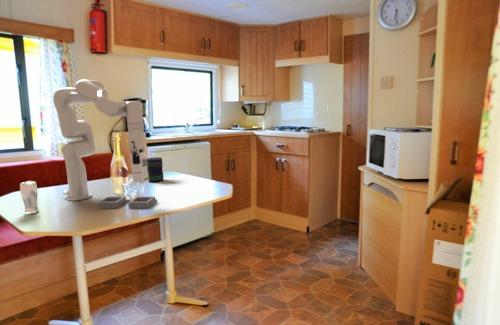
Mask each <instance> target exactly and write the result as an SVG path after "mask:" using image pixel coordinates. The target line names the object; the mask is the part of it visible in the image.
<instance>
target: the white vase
mask: <svg viewBox="0 0 500 325" xmlns="http://www.w3.org/2000/svg"><path fill="white" fill-rule="evenodd" d="M19 191H20V192H19V193H20V197H21V199H22V202H23V205H24V213H25V212H35V211H38V210H39V211H40V209H39V206H38V197H39V195H38V186H37V182H36V180H35V181H34V180H29V181H28V180H27V181H23V182H20V183H19Z"/></svg>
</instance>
